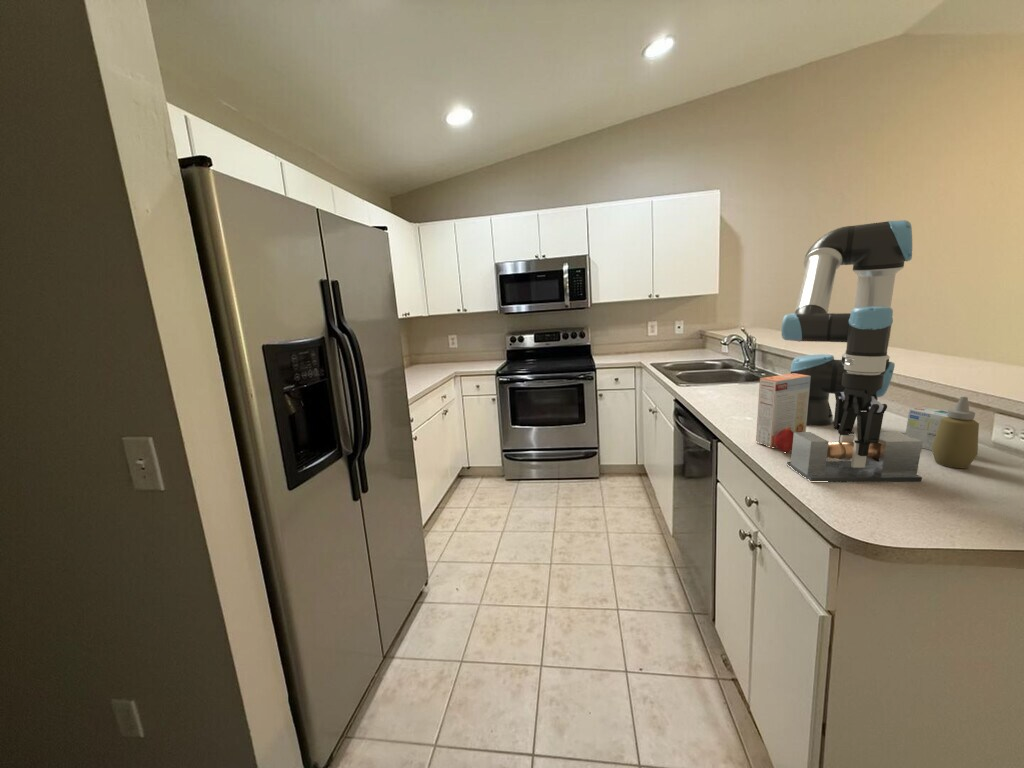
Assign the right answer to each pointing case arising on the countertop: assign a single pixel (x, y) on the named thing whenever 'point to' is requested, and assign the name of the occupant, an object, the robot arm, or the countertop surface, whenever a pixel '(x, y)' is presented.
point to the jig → (811, 461)
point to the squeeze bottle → (957, 437)
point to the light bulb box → (924, 424)
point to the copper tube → (850, 450)
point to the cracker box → (782, 405)
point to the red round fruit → (784, 440)
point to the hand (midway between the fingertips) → (850, 462)
